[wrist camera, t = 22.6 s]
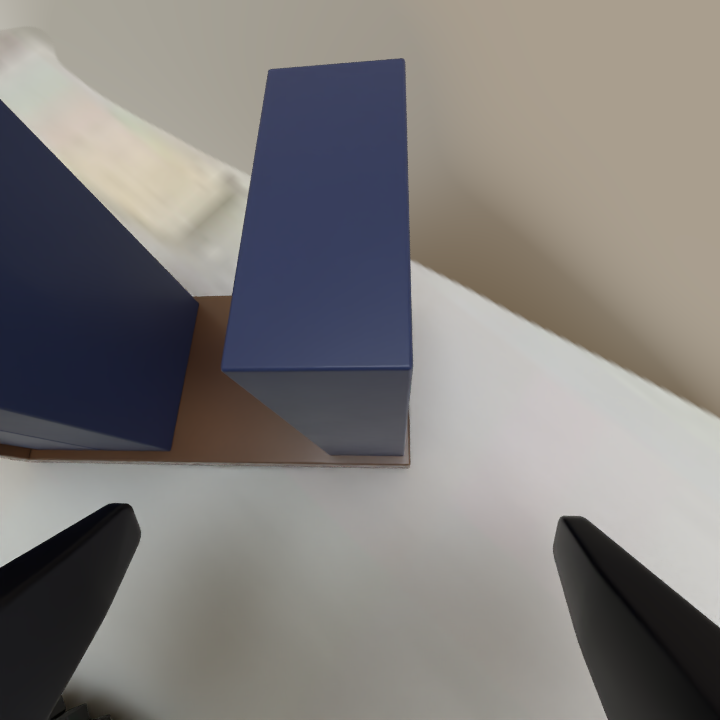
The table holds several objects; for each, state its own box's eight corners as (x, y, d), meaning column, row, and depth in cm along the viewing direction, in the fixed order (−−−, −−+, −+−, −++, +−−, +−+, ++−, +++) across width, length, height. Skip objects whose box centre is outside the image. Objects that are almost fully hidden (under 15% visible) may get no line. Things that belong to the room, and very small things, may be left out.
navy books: (171, 451, 17) (-156, 369, 7) (37, 449, 18) (-440, 372, 8) (199, 303, 20) (-9, 88, 10) (82, 306, 21) (-229, 106, 10)
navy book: (403, 456, 16) (413, 369, 6) (328, 455, 17) (217, 370, 6) (401, 299, 19) (404, 56, 9) (336, 301, 19) (267, 67, 9)
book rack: (409, 468, 17) (427, 408, 7) (29, 462, 19) (-415, 406, 9) (406, 302, 20) (414, 84, 10) (77, 310, 22) (-210, 132, 12)
